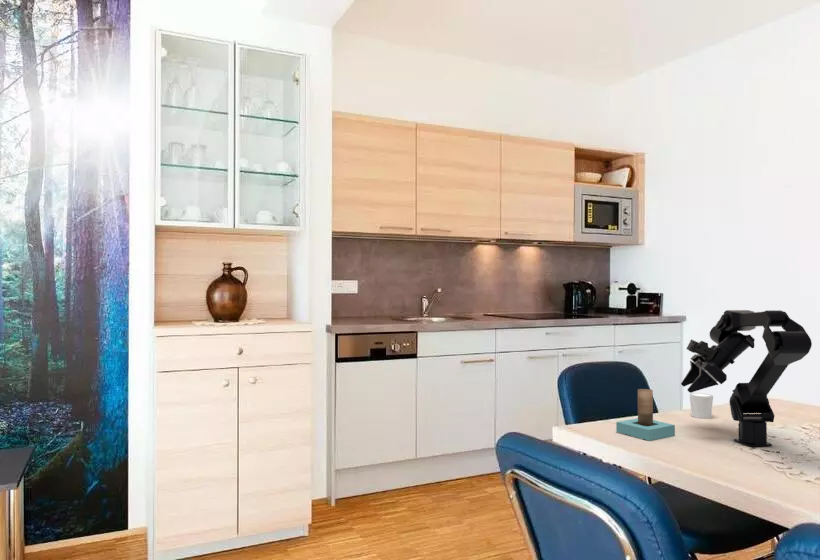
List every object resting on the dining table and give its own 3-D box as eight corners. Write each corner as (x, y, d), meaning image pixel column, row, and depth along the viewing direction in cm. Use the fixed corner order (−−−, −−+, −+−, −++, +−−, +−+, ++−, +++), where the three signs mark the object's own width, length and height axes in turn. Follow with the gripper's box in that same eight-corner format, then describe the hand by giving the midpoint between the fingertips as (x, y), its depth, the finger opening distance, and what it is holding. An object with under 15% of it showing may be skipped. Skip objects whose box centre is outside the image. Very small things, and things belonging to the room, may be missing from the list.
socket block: (674, 435, 168) (674, 424, 168) (648, 440, 163) (648, 429, 163) (642, 427, 178) (642, 417, 178) (616, 432, 172) (616, 422, 172)
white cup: (689, 417, 191) (688, 395, 191) (690, 413, 197) (690, 392, 197) (713, 419, 187) (712, 397, 187) (713, 415, 193) (713, 393, 194)
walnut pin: (656, 435, 168) (655, 391, 169) (643, 436, 168) (642, 391, 168) (648, 432, 172) (647, 388, 172) (635, 432, 172) (634, 389, 172)
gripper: (698, 327, 179) (658, 363, 182) (713, 333, 161) (669, 373, 164) (727, 354, 177) (686, 389, 180) (745, 363, 159) (700, 403, 162)
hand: (685, 388), depth 172 cm, fingers open, 9 cm apart
